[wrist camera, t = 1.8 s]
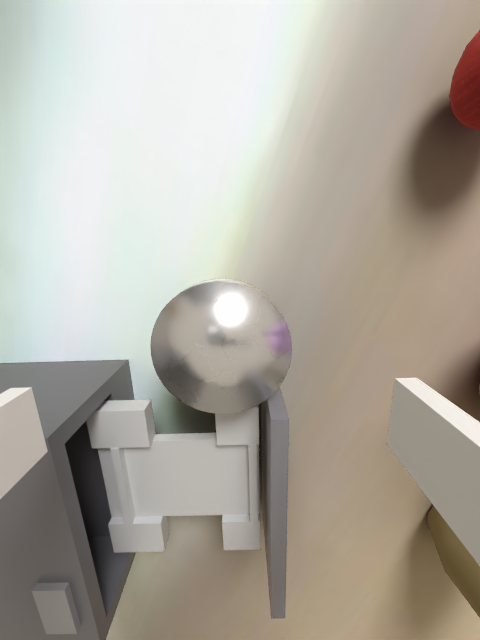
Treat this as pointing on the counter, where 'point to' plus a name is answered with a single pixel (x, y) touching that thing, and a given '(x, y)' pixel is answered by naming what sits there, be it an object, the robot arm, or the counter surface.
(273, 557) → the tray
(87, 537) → the box
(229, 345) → the disc
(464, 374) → the counter surface
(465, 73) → the onion
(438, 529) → the squeeze bottle
